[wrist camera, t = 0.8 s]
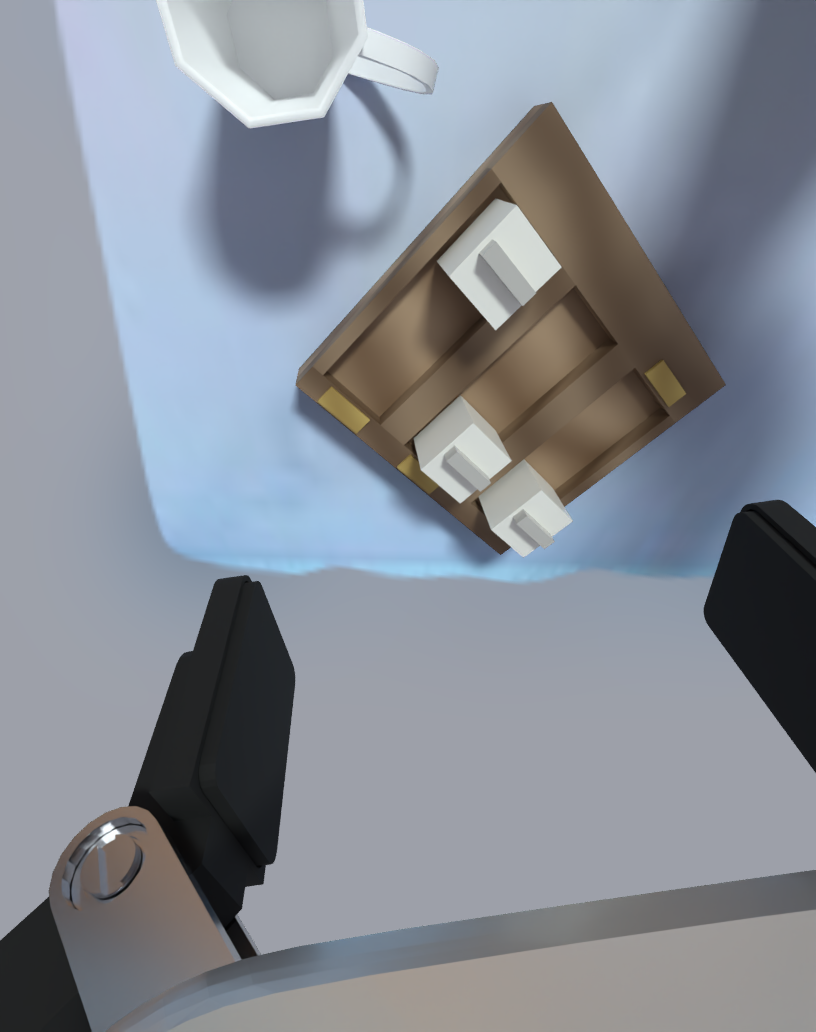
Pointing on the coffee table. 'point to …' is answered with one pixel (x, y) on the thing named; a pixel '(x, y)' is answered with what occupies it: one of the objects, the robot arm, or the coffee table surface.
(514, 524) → the tab
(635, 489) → the coffee table surface
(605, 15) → the coffee table surface
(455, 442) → the tab middle
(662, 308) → the switch board
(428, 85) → the cup
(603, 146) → the coffee table surface
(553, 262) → the tab
